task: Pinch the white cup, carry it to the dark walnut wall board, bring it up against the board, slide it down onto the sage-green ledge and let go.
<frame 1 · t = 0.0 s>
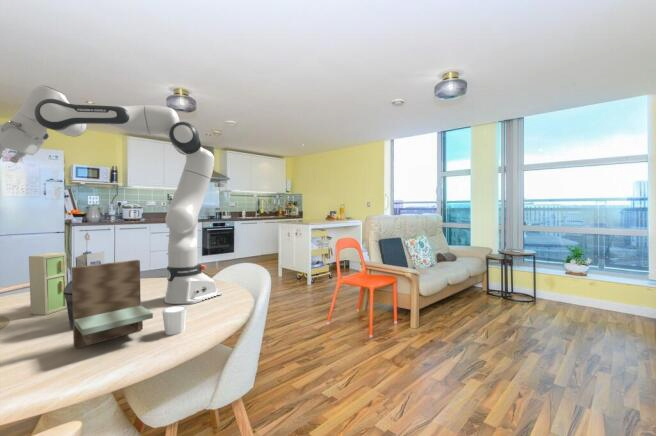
hand: (4, 160, 106), 54 cm above the table, tool tilted 30°, fingers open, 8 cm apart
beverage cup: (79, 327, 98), on the table
wall shelf: (109, 338, 89), on the table
milk carton: (91, 300, 125), on the table
toy refrigerator: (50, 311, 112), on the table
white cup: (175, 331, 95), on the table
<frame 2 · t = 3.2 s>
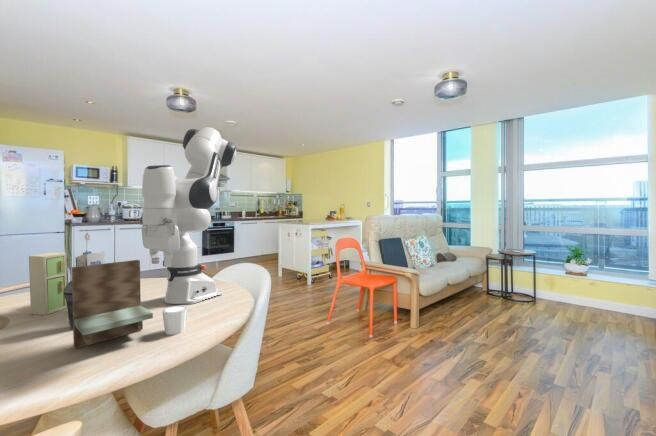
hand: (161, 265, 91), 21 cm above the table, tool pointing down, fingers open, 8 cm apart
nothing on the table moved.
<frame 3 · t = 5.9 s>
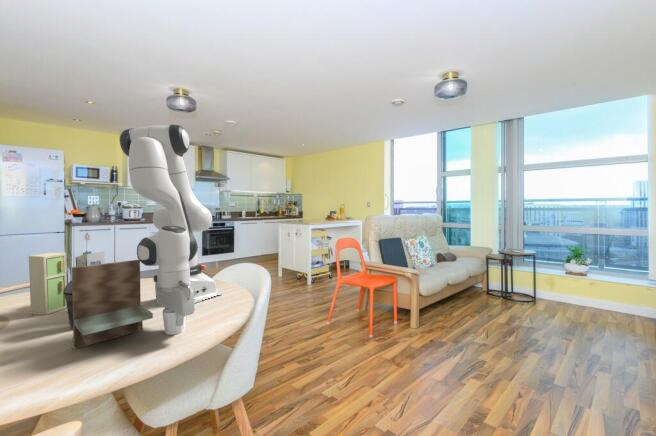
hand: (174, 322, 95), 3 cm above the table, tool pointing down, fingers closed on white cup, 5 cm apart
white cup: (175, 331, 95), on the table, touching gripper
everything else where it was.
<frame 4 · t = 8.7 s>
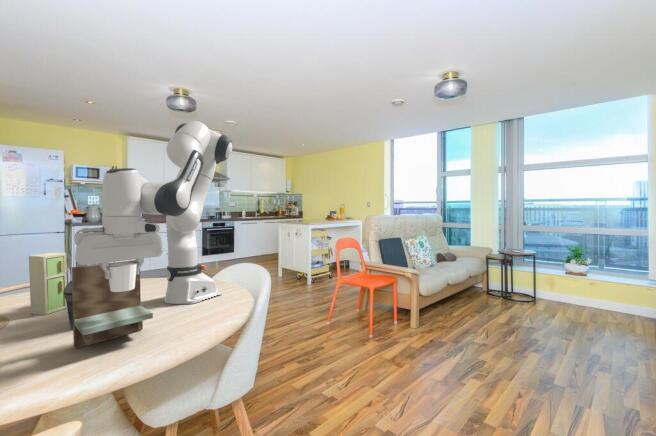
hand: (122, 276, 84), 19 cm above the table, tool pointing down, fingers closed on white cup, 5 cm apart
white cup: (122, 289, 85), point 16 cm above the table, touching gripper
everything else where it was.
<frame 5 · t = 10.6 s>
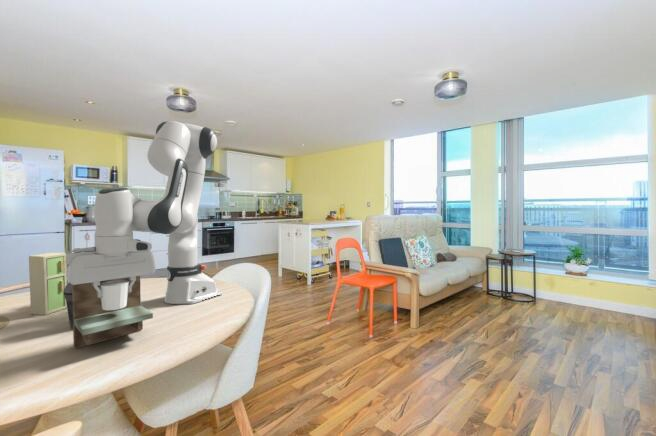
hand: (114, 294, 85), 14 cm above the table, tool pointing down, fingers closed on white cup, 5 cm apart
white cup: (114, 307, 86), point 10 cm above the table, touching gripper
everything else where it was.
when the fingers open (12 cm above the table, at t = 11.6 s): white cup stays where it is, resting on wall shelf.
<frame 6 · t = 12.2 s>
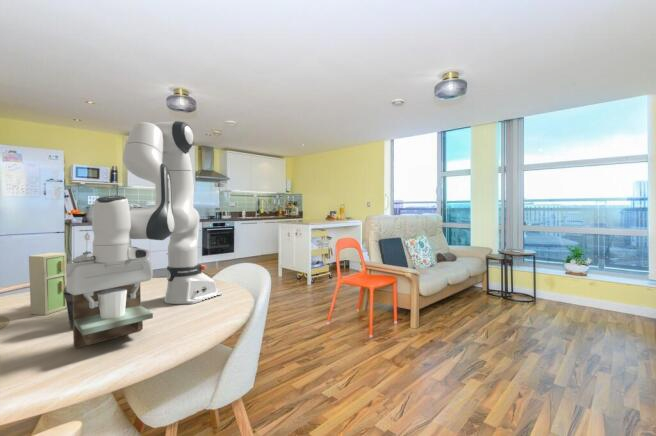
hand: (113, 302, 86), 12 cm above the table, tool pointing down, fingers open, 8 cm apart
white cup: (113, 315, 86), point 8 cm above the table, touching wall shelf
everything else where it was.
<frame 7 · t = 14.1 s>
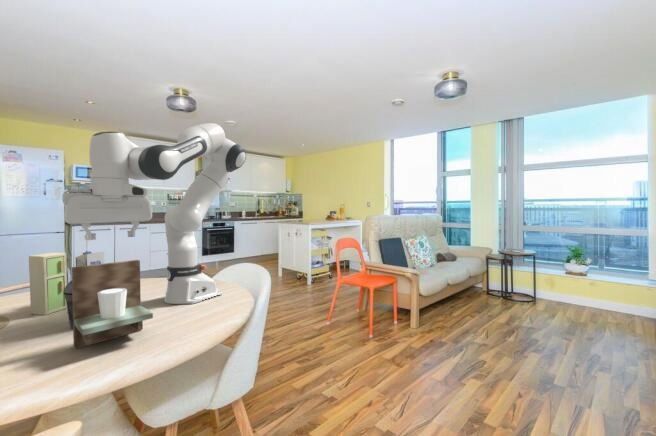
hand: (112, 238, 87), 30 cm above the table, tool pointing down, fingers open, 8 cm apart
nothing on the table moved.
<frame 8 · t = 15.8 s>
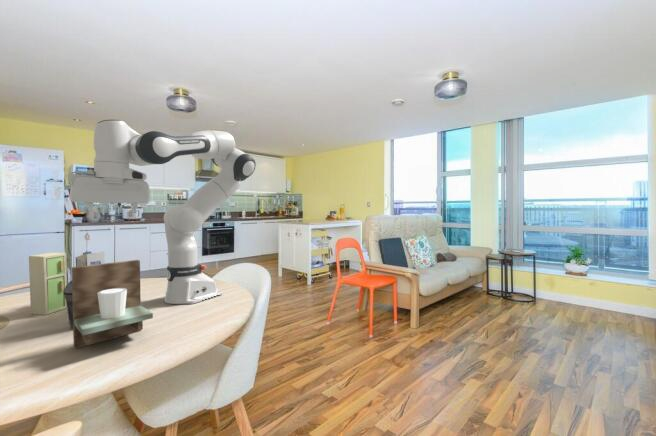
hand: (113, 217, 94), 35 cm above the table, tool pointing down, fingers open, 8 cm apart
nothing on the table moved.
at the end: white cup inside the target area on the wall shelf (1.3 cm from its centre), point 7.8 cm above the wall shelf's base; white cup tilted 0°; the gripper is holding nothing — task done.
